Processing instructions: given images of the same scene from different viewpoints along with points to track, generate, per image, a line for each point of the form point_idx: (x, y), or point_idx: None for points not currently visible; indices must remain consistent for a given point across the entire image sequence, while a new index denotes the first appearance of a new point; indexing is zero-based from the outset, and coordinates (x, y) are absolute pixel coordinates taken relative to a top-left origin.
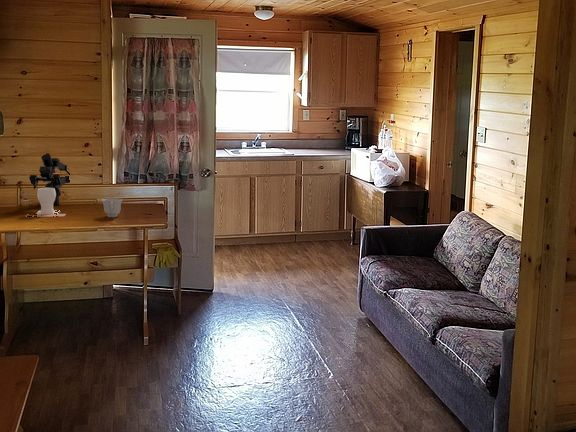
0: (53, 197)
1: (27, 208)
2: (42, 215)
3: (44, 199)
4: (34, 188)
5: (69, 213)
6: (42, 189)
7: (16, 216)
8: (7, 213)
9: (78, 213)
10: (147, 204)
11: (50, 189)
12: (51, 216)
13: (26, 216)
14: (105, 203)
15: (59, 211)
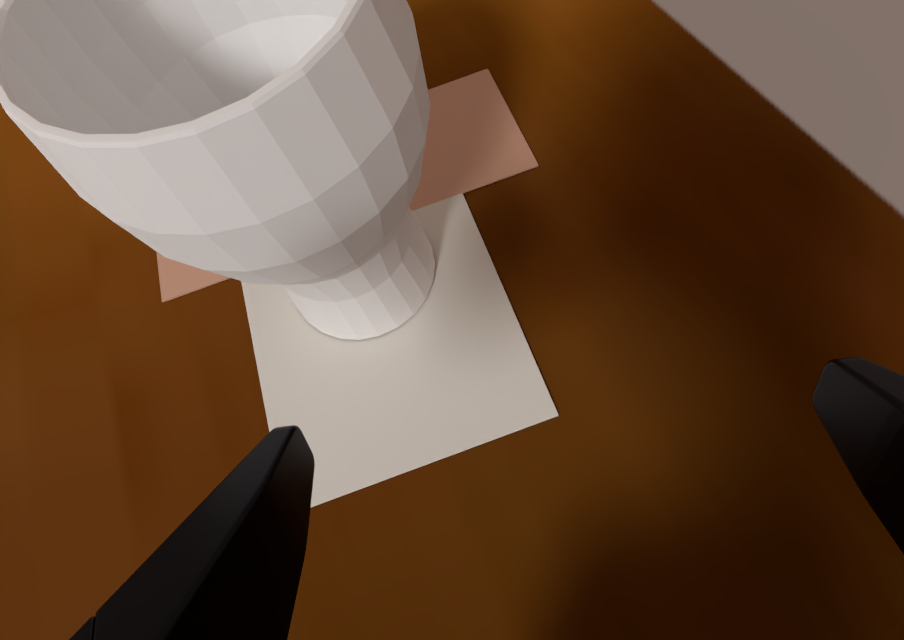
0: (144, 113)
1: (850, 574)
2: None
3: (276, 51)
4: (822, 384)
5: (134, 343)
6: (335, 83)
7: (589, 72)
8: (803, 166)
9: (40, 367)
10: None
11: (150, 176)
12: None
13: (490, 86)
14: None
15: (271, 420)
